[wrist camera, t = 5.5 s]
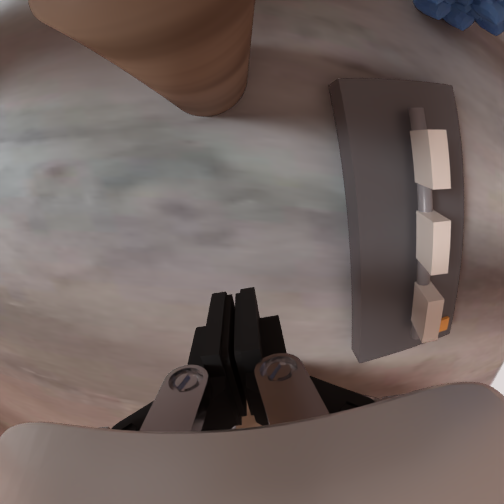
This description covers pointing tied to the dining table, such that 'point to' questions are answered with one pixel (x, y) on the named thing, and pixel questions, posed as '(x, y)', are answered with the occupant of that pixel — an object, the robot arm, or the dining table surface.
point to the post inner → (166, 44)
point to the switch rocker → (429, 224)
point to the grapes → (466, 13)
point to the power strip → (393, 205)
